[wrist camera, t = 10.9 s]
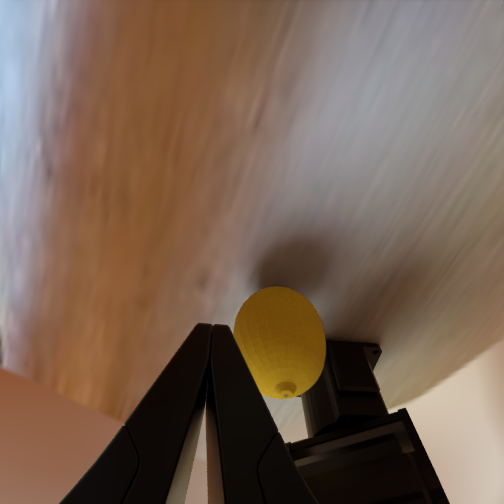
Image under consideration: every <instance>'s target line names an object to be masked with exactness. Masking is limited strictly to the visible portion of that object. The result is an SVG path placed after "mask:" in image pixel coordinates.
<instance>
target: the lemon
mask: <svg viewBox="0 0 504 504" xmlns="http://www.w3.org/2000/svg"><path fill="white" fill-rule="evenodd" d="M233 336H234V338H235V340H236V342H237V344H238V346H239V348H240V350H241V353H242V355H243V357H244V359H245V361H246V363H247V365H248V367H249V369H250V371H251V374H252V376H253V378H254V380H255V382H256V384H257V386H258V388H259V390H260V393H261V394H263V395H265V396H268V397H271V398H277V399H288V398H293V397H296V396H298V395H301V394H303V393H304V392H306V391H307V390H308V389H310V388H311V387H312V386H313V385H314V384H315V382H316V381H317V380H318V378H319V376H320V375H321V372H322V370H323V366H324V362H325V356H326V340H325V333H324V328H323V324H322V321H321V319H320V317H319V315H318V313H317V311H316V309H315V308H314V306H313V305H312V303H311V302H310V301H309V300H308V299H307V298H306V297H304V296H303V295H302V294H300V293H299V292H297V291H295V290H293V289H290V288H286V287H277V286H274V287H268V288H265V289H262V290H259V291H257V292H256V293H254V294H253V295H251V296H250V297H249V298H248V299H247V300H246V301H245V302H244V303H243V305H242V307H241V309H240V310H239V312H238V314H237V317H236V320H235V326H234V331H233Z"/></svg>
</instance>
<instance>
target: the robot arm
mask: <svg viewBox="0 0 504 504" xmlns="http://www.w3.org/2000/svg"><path fill="white" fill-rule="evenodd" d="M212 330H213V331H212ZM381 353H382V350H381V348H380V346H379V345H378V344H370V343H356V342H342V341H327V340H326V356H325V362H324V366H323V370H322V372H321V375H320V376H319V378H318V380H317V381H316V382H315V384H314V385H313V386H312V387H311V388H310V389H308V390H307V391H306V392H304V393H303V394H301V395H298V396H296V397H301V398H302V404H303V410H304V416H305V421H306V427H307V433H308V438H307V439H304V440H300V441H297V442H293V443H291V442H288V443H284V441H283V439H282V436H281V434H280V433H279V432H278V428H277V426H276V424H275V422H274V420H273V418H272V416H271V414H270V411H269V409H268V407H267V405H266V403H265V401H264V399H263V397H262V395H261V393H260V390H259V388H258V386H257V384H256V382H255V380H254V378H253V376H252V374H251V371H250V369H249V367H248V365H247V363H246V361H245V359H244V357H243V355H242V353H241V350H240V348H239V346H238V344H237V342H236V340H235V338H234V336H233V334H232V332H231V329H230V327H229V326H228V325H221V324H215V325H213V326H212V324H207V323H198V324H197V325H196V326H195V327H194V329H193V330H192V331H191V333H190V334H189V335H188V337H187V338H186V340H185V341H184V342H183V344H182V345H181V346H180V348H179V349H178V351H177V352H176V353H175V355H174V356H173V357H172V359H171V360H170V361H169V363H168V364H167V366H166V367H165V368H164V370H163V371H162V372H161V374H160V375H159V377H158V378H157V379H156V381H155V382H154V383H153V385H152V386H151V388H150V389H149V390H148V392H147V393H146V394H145V396H144V397H143V399H142V400H141V401H140V403H139V404H138V405H137V407H136V408H135V410H134V411H133V412H132V414H131V415H130V416H129V418H128V419H127V420H126V422H125V426H122V427H121V428H120V430H119V431H118V433H117V434H116V435H115V437H114V438H113V439H112V441H111V442H110V444H109V445H108V446H107V447H106V449H105V450H104V451H103V452H102V454H101V455H100V457H99V458H98V459H97V460H96V461H95V463H94V464H93V465H92V466H91V467H90V469H89V470H88V471H87V472H86V473H85V474H84V476H83V477H82V478H81V479H80V480H79V481H78V483H77V484H76V485H75V486H74V487H73V488H72V490H71V491H70V492H69V493H68V494H67V495H66V496H65V497H64V498H63V500H62V501H61V502H60V503H59V504H184V503H185V498H186V494H187V489H188V484H189V480H190V475H191V471H192V465H193V461H194V457H195V452H196V448H197V443H198V438H199V434H200V429H201V425H202V420H203V415H204V410H205V403H206V448H207V486H208V504H450V503H449V501H448V499H447V496H446V494H445V492H444V490H443V488H442V485H441V483H440V481H439V479H438V476H437V474H436V472H435V470H434V468H433V466H432V463H431V461H430V459H429V457H428V455H427V453H426V450H425V448H424V446H423V444H422V442H421V440H420V438H419V435H418V433H417V431H416V429H415V427H414V425H413V422H412V420H411V418H410V416H409V414H408V412H407V410H406V408H402V409H399V410H398V412H394V413H391V414H389V413H388V411H387V408H386V406H385V403H384V401H383V398H382V396H381V393H380V388H379V385H378V383H377V380H376V378H375V376H374V373H373V370H374V368H375V366H376V363H377V361H378V359H379V357H380V355H381ZM209 362H210V363H209ZM208 373H209V374H208ZM207 383H208V385H207ZM206 394H207V396H206Z"/></svg>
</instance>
